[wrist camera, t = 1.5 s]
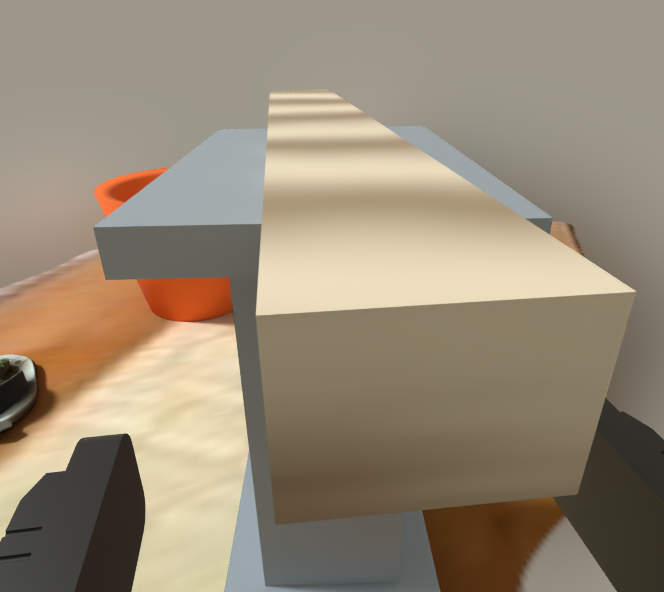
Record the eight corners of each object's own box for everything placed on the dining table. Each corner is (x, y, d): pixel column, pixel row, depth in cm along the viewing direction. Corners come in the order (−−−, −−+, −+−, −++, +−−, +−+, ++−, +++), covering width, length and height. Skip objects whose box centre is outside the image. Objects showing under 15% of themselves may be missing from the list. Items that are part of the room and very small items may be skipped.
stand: (459, 701, 31) (552, 218, 17) (208, 709, 31) (93, 227, 17) (402, 437, 53) (423, 125, 39) (253, 441, 53) (219, 129, 38)
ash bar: (577, 495, 7) (635, 291, 5) (275, 525, 6) (255, 315, 5) (329, 135, 35) (328, 89, 34) (272, 136, 35) (270, 91, 33)
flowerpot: (194, 354, 68) (172, 216, 60) (89, 309, 81) (58, 189, 72) (302, 288, 87) (297, 176, 78) (203, 260, 99) (189, 160, 91)
